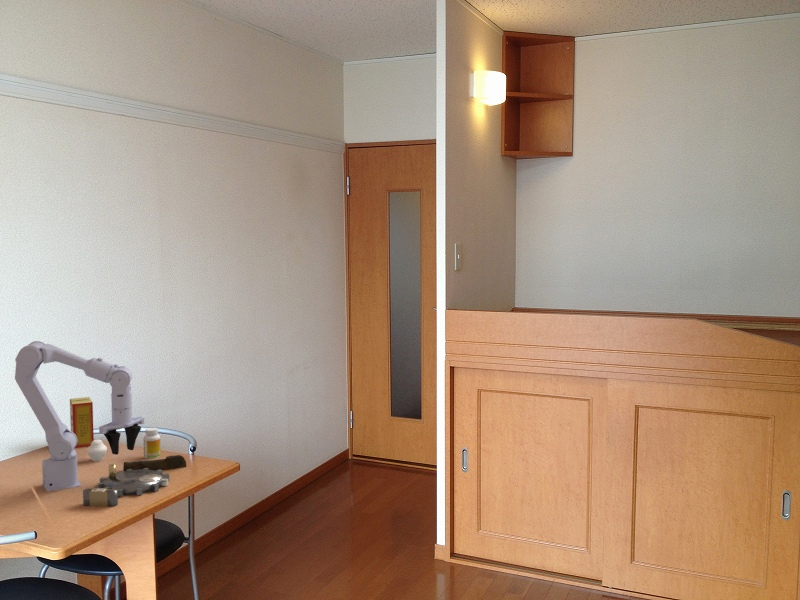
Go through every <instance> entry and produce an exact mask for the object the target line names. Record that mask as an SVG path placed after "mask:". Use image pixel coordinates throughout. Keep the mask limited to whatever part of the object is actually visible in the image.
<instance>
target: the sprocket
mask: <svg viewBox="0 0 800 600" xmlns="http://www.w3.org/2000/svg"><path fill="white" fill-rule="evenodd" d="M116 465H117V464H116V463H111V464H110V463H109V464H108V476H103V477H102V476H101V477H100V478H99V482H98V483H96V484H97V485H96V486H97V487H96V489H97V488H103V489H117V490H118V498H121V497H122V498H123V497H124V496H130V495H131V496H133V495H136V496H142V495H143V494H146V493H149V492H158V491H159V490H160V488H161V487H167V486H168V485H169V481H170V473H168V472H166V473H163V472H164V470H163V469H161V470H160V469H159V470H149V468H144V469H138V470H132V469H127V471H120V472H119V471H118V472H117V466H116Z"/></svg>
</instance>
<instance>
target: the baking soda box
mask: <svg viewBox="0 0 800 600" xmlns="http://www.w3.org/2000/svg"><path fill="white" fill-rule="evenodd" d="M93 409H94V405H93V400H92V399H91V398H90V396H88V397H87V396H86V397H75V398H69V416H70V431H71V432H73V433H74V434H75V435H76V436H77V440H78V442H77V445H76V447H75V448H74V449H78V448H79V449H80V448H85V447H90V445H91V443H92V441H94V440H95V439H94V437H95V436H94V410H93Z"/></svg>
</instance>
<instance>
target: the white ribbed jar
mask: <svg viewBox="0 0 800 600" xmlns="http://www.w3.org/2000/svg"><path fill="white" fill-rule="evenodd" d="M86 450H87V451H86V452H87V454H88V456H89V457H90V459H91V461H92V462H101V461H103V460H104V458H105V456H106V454H107V450H108V447H107V445H105V444H104V443H103V440H101V439H94V441H92V443H91V445H90V446H88V448H87V449H86Z"/></svg>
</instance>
